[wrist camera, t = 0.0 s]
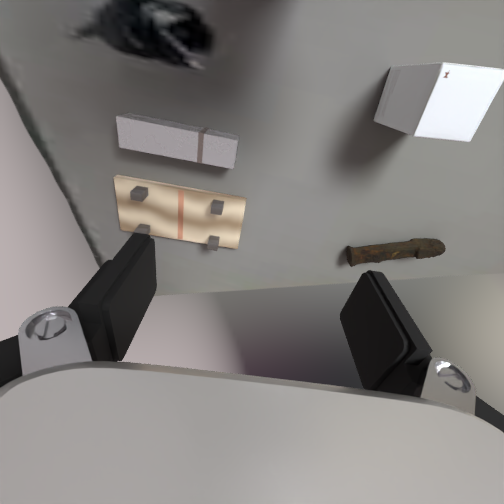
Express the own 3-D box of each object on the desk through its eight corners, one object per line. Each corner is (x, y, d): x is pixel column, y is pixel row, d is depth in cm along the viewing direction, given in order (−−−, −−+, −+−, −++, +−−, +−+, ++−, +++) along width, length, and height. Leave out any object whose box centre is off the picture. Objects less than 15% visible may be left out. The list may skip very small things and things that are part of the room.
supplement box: (371, 121, 40) (410, 137, 30) (390, 64, 36) (444, 59, 26) (416, 127, 41) (470, 144, 30) (440, 70, 36) (512, 68, 26)
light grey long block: (128, 112, 40) (115, 115, 37) (239, 134, 42) (237, 140, 38) (131, 141, 43) (119, 147, 39) (235, 161, 44) (233, 169, 41)
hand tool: (344, 258, 56) (350, 271, 52) (345, 243, 54) (352, 256, 50) (433, 249, 54) (447, 262, 51) (439, 234, 52) (453, 246, 48)
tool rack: (117, 174, 46) (105, 183, 42) (246, 197, 48) (245, 207, 44) (123, 226, 52) (113, 237, 49) (237, 245, 54) (236, 257, 51)
